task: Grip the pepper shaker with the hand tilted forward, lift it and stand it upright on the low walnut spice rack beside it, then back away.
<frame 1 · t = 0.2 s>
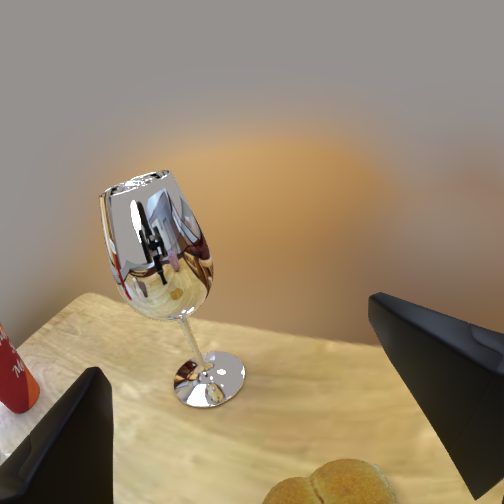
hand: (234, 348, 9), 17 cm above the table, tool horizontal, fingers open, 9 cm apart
coffee cup: (24, 398, 28), on the table
wineglass: (209, 380, 29), on the table
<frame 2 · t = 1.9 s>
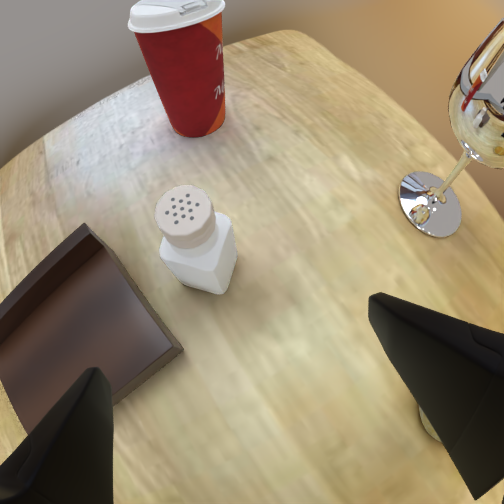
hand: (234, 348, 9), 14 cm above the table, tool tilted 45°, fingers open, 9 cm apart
coffee cup: (198, 119, 32), on the table
spice rack: (78, 353, 22), on the table
pepper shaker: (209, 269, 25), on the table
wineglass: (429, 204, 27), on the table
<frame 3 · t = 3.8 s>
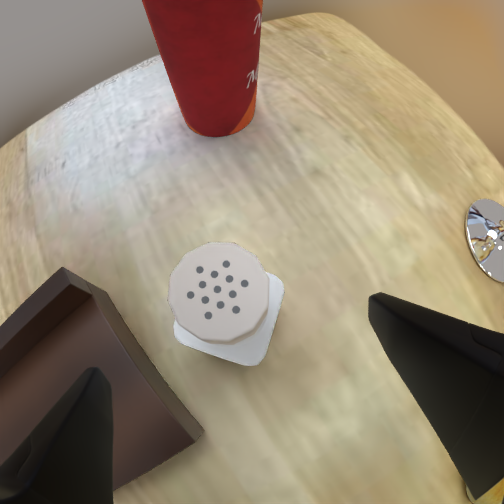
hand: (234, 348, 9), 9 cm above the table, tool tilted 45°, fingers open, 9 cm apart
coffee cup: (219, 113, 24), on the table
spice rack: (68, 419, 16), on the table
pepper shaker: (238, 326, 18), on the table
wineglass: (494, 240, 20), on the table
bread roll: (500, 457, 14), on the table
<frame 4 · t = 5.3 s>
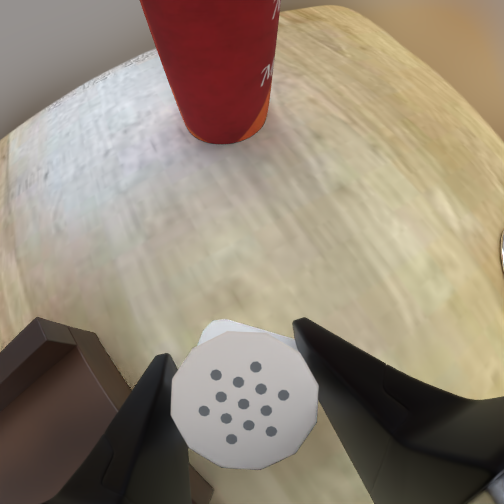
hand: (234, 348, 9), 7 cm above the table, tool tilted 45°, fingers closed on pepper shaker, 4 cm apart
coffee cup: (225, 115, 21), on the table
spice rack: (62, 469, 12), on the table
pepper shaker: (251, 378, 15), on the table, touching gripper
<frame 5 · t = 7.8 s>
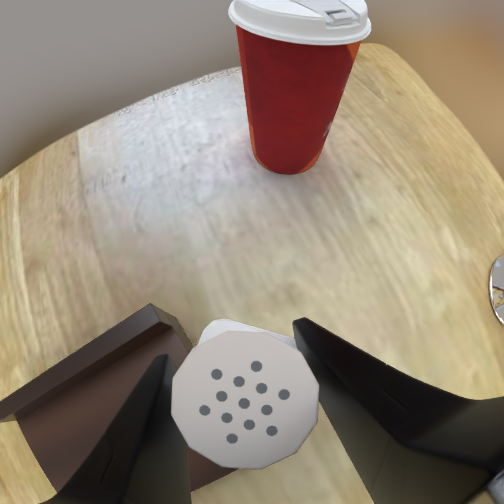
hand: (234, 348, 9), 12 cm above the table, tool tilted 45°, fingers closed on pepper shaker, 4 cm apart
coffee cup: (285, 148, 26), on the table
spice rack: (128, 431, 19), on the table
pepper shaker: (251, 378, 15), point 5 cm above the table, touching gripper
when the fingers open (10 cm above the table, at t = 10.6 s): pepper shaker stays where it is, resting on spice rack.
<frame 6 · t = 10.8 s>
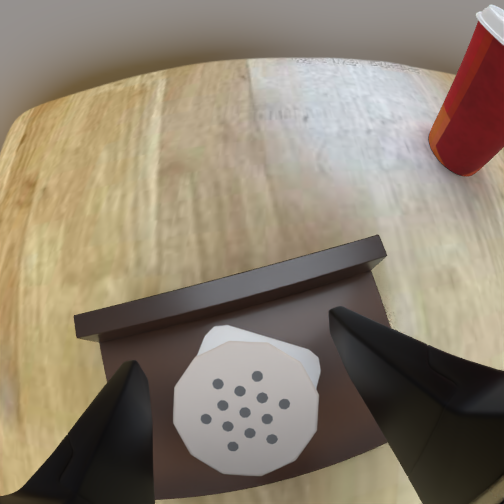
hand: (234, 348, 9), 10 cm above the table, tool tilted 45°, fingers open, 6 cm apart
coffee cup: (452, 151, 24), on the table
spice rack: (255, 385, 17), on the table
pepper shaker: (252, 382, 15), point 3 cm above the table, touching spice rack
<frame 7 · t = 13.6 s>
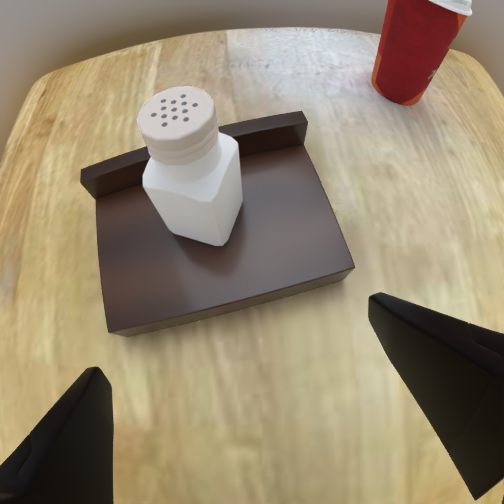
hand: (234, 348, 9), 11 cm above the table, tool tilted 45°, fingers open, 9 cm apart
coffee cup: (394, 88, 29), on the table
spice rack: (215, 238, 23), on the table
pepper shaker: (207, 216, 20), point 3 cm above the table, touching spice rack
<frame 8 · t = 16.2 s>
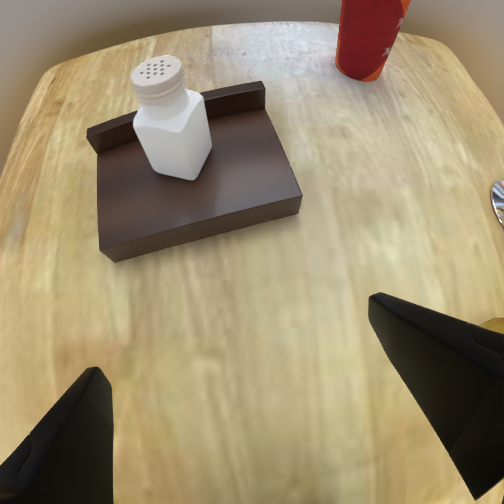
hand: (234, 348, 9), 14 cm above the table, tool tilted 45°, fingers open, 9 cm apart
coffee cup: (357, 68, 33), on the table
spice rack: (192, 183, 27), on the table
pepper shaker: (184, 161, 24), point 3 cm above the table, touching spice rack
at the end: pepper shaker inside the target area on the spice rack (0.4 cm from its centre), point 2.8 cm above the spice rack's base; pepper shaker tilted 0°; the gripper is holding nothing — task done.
